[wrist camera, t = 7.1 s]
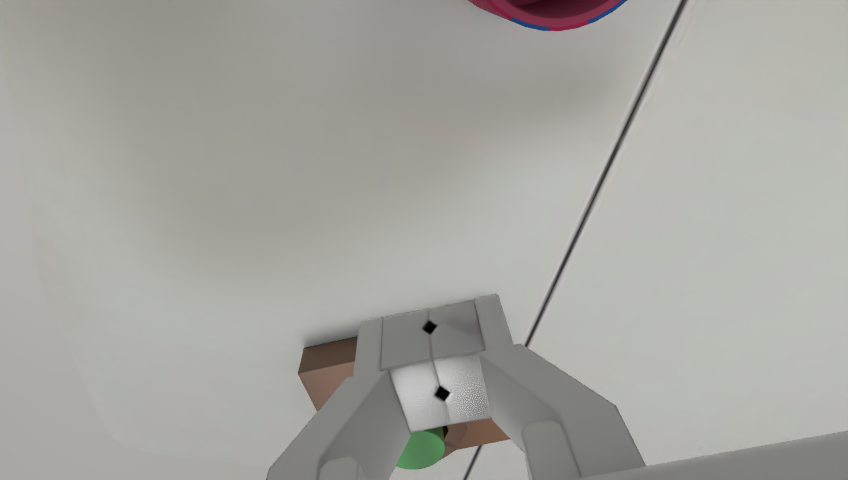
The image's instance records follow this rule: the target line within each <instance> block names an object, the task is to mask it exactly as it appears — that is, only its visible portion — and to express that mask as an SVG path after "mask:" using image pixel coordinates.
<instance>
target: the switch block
mask: <svg viewBox="0 0 848 480" xmlns="http://www.w3.org/2000/svg"><path fill="white" fill-rule="evenodd" d="M357 339H358V337H355V338H351V339H346V340H342V341H337V342H333V343H328V344H323V345H319V346H314V347H310V348H305V349H304V350H303V354H302V358H301V363H300V367H299V371H298V375H299V377H300V379H301V381H302V383H303V385H304V386H305V388H306V390H307V392H308V394H309V396H310V398H311V400H312V402H313V404H314V406H315V408H316V410H317V412H318V411H319V410H320V408H321V407H322V406H323V405H324V404H325V403H326V401H327V400H328V399H329V398H330V397H331V395H332V394H333V393H334V392H335V391H336V390H337V388H338V387H339V386H340V385H341V384H342V383H343V381H344V380H345V379H346V378H348V377H353V374H354V365H355V357H356V348H357ZM443 433H444V442H445V452H444V454H443V456H442V458H444V457H446V456H447V455H449V454H450V453H452V452H453V451H455V450H458V449H463V448H468V447H473V446H478V445H483V444H488V443H493V442H498V441H503V440H508V439H510V438H509V437H508V436H507V435H506V434H505V433H504V432H503V431H502V429H501V428H500V427H499V426H498V425H497V424H496V423H495V422H494V421H493V420H492V418H489V419H482V420H476V421H470V422H463V423H457V424H451V425H446V426H443ZM442 458H441V459H442ZM441 459H440V460H441Z"/></svg>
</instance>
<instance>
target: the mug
mask: <svg viewBox="0 0 848 480" xmlns="http://www.w3.org/2000/svg"><path fill="white" fill-rule="evenodd" d="M469 1H470V2H472V3H473V4H474V5H476V6H477V7H479V8H482V9H484V10H486V11H488V12H491V13H493V14H495V15H498V16H500V17H503V18H505V19H508V20H510V21H512V22H515V23H517V24H520V25H522V26H525V27H528V28H533V29H538V30H542V31H562V30H568V29H574V28H579V27H581V26H584V25H587V24H590V23H592V22H595V21H597V20H599V19H601V18H602V17H604V16H606V15H608V14H609V13H611V12H613V11H614V10H615V9H617V8H618V7H619V6H620V5H622V4H623V3H624V2H626V1H627V0H469Z"/></svg>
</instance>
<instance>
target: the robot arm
mask: <svg viewBox="0 0 848 480" xmlns="http://www.w3.org/2000/svg"><path fill="white" fill-rule="evenodd" d="M489 418H492V420H493V421H494V422H495V423H496V424H497V425H498V426H499V427H500V428H501V429H502V431H503V432H504V433H505V434H506V435H507V436H508V437H509V438H510V439H511V440H512V441H513V442H514V443H515V444H516V445H517V446H518V447H519V448H520V449H521V450H522V451H523V452H524V454H525V459H526V465H527V471H528V477H529V480H848V431H844V432H838V433H832V434H827V435H821V436H815V437H809V438H804V439H798V440H792V441H787V442H781V443H775V444H769V445H764V446H758V447H752V448H747V449H741V450H735V451H729V452H724V453H718V454H712V455H707V456H701V457H695V458H690V459H684V460H678V461H672V462H667V463H661V464H655V465H650V466H646V465H645V463H644V461H643V459H642V457H641V455H640V453H639V451H638V449H637V447H636V445H635V443H634V441H633V439H632V437H631V435H630V433H629V431H628V429H627V427H626V425H625V423H624V421H623V419H622V417H621V415H620V413H619V411H618V409H617V407H616V405H614V404H612V403H611V402H609V401H608V400H606V399H605V398H603V397H602V396H600V395H599V394H597V393H596V392H594V391H593V390H591V389H590V388H588V387H586V386H585V385H583V384H582V383H580V382H579V381H577V380H576V379H574V378H573V377H571V376H570V375H568V374H567V373H565V372H563V371H562V370H560V369H559V368H557V367H556V366H554V365H553V364H551V363H550V362H548V361H547V360H545V359H544V358H542V357H540V356H539V355H537V354H536V353H534V352H533V351H531V350H530V349H528V348H527V347H525V346H524V345H522V344H516V345H514V344H513V341H512V338H511V335H510V331H509V328H508V325H507V322H506V319H505V315H504V312H503V309H502V306H501V303H500V299H499V296H498V295H497V294H492V295H487V296H483V297H479V298H474V300H469V301H464V302H459V303H454V304H449V305H445V306H440V307H435V308H430V309H423V310H418V311H412V312H407V313H401V314H396V315H390V316H385V317H380V318H375V319H370V320H365V321H362V322H361V323H360V325H359V330H358V339H357V348H356V357H355V365H354V374H353V377H348V378H346V379H345V380H344V381H343V383H342V384H341V385H340V386H339V387H338V388H337V390H336V391H335V392H334V393H333V394H332V395H331V397H330V398H329V399H328V400H327V401H326V403H325V404H324V405H323V406H322V407H321V408H320V410H319V411H318V412H317V413H316V414H315V415H314V417H313V418H312V419H311V420H310V421H309V423H308V424H307V425H306V426H305V427H304V428H303V430H302V431H301V432H300V433H299V434H298V435H297V437H296V438H295V439H294V440H293V441H292V443H291V444H290V445H289V446H288V447H287V448H286V450H285V451H284V452H283V453H282V454H281V455H280V457H279V458H278V459H277V460H276V461H275V463H274V464H273V465H272V466H271V467H270V468H269V471H268V475H267V479H266V480H389V478H390V476H391V474H392V472H393V470H394V468H395V466H396V464H397V462H398V460H399V458H400V456H401V454H402V452H403V450H404V448H405V446H406V444H407V442H408V441H409V439H410V437H411V434H410V433H414V432H418V431H423V430H427V429H432V428H437V427H441V426H446V425H451V424H457V423H463V422H470V421H476V420H482V419H489Z"/></svg>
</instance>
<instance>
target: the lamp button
mask: <svg viewBox="0 0 848 480" xmlns="http://www.w3.org/2000/svg"><path fill="white" fill-rule="evenodd" d="M410 434H411V437H410V439H409V441H408V442H407V444H406V446H405V448H404V450H403V452H402V454H401V456H400V458H399V460H398V462H397V464H396V466H397V467H400V468H404V469H422V468H426V467H429V466H431V465H433V464H435V463H436V462H438V461H439V460H440V459H441V458H442V456H443V454H444V452H445V442H444V433H443V426H441V427H437V428H432V429H427V430H423V431H418V432H414V433H410Z"/></svg>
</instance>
